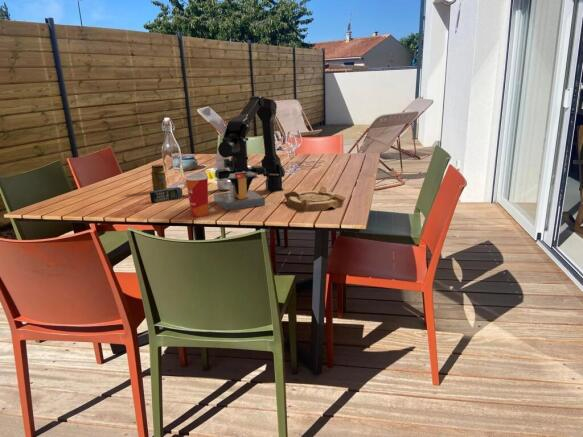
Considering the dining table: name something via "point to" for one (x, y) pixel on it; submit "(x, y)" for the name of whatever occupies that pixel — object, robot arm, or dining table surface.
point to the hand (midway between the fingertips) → (241, 193)
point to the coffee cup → (198, 193)
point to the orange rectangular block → (242, 188)
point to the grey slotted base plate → (232, 202)
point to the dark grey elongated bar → (166, 194)
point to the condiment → (158, 178)
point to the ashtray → (314, 200)
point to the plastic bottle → (222, 183)
